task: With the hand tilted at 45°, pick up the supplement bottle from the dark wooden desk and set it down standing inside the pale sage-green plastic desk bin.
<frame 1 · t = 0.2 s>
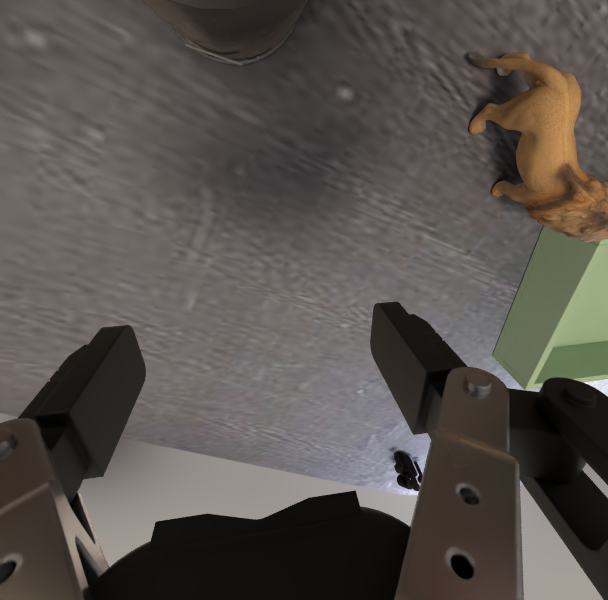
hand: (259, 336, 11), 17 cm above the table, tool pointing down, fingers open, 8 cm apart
desk bin: (588, 287, 35), on the table
lion figurine: (506, 143, 26), on the table
wireless earbuds: (398, 455, 48), on the table
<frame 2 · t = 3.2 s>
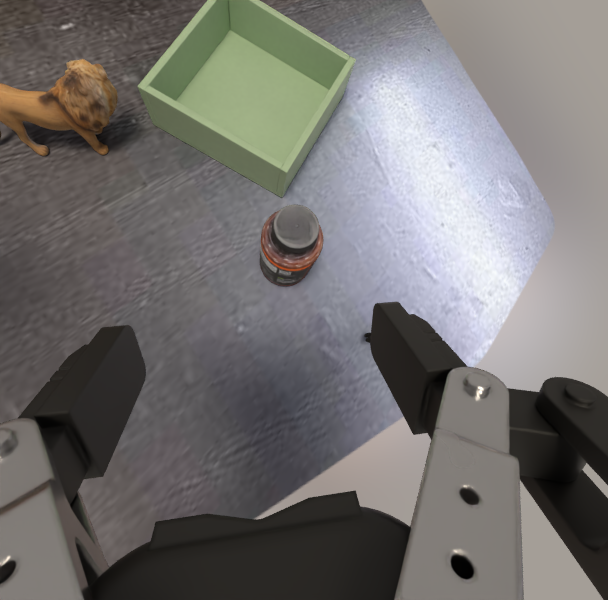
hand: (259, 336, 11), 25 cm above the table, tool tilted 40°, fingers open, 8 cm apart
desk bin: (254, 109, 41), on the table
supplement bottle: (284, 263, 38), on the table
lion figurine: (74, 137, 36), on the table
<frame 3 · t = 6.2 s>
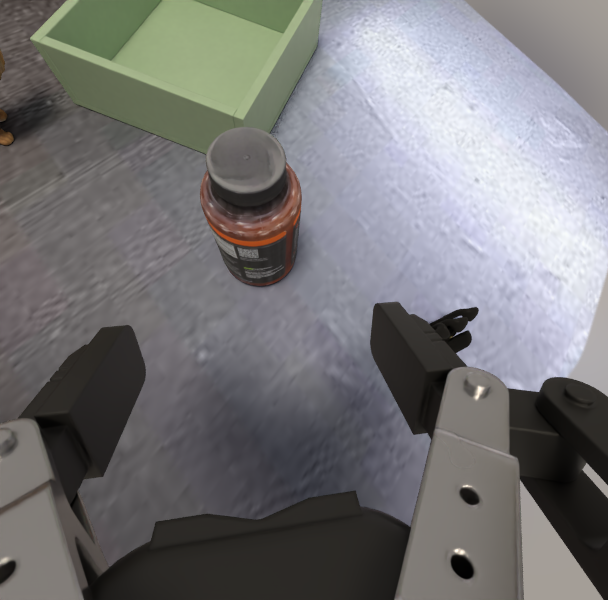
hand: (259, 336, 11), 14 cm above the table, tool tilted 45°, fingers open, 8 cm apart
desk bin: (204, 73, 32), on the table
supplement bottle: (260, 255, 27), on the table
wireless earbuds: (422, 344, 25), on the table
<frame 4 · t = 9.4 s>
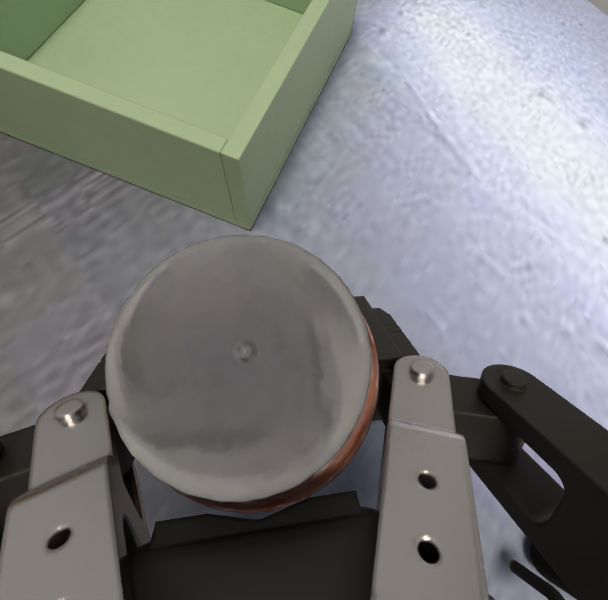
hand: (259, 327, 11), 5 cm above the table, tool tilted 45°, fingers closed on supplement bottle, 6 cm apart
desk bin: (182, 72, 21), on the table
supplement bottle: (268, 383, 16), on the table, touching gripper
wireless earbuds: (553, 550, 14), on the table
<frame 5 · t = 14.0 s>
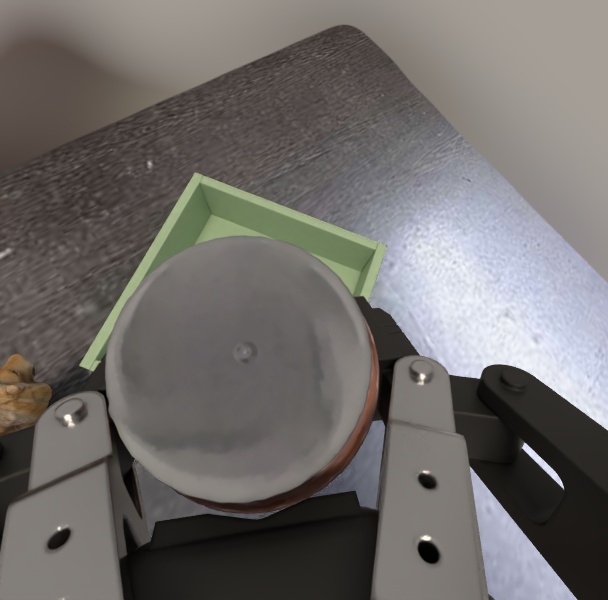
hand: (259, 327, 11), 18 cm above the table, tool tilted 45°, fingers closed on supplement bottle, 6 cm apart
desk bin: (253, 317, 30), on the table
supplement bottle: (268, 383, 16), point 13 cm above the table, touching gripper
lion figurine: (9, 415, 26), on the table
when the fingers open (6 cm above the table, at t = 18.8 s): supplement bottle stays where it is, resting on desk bin.
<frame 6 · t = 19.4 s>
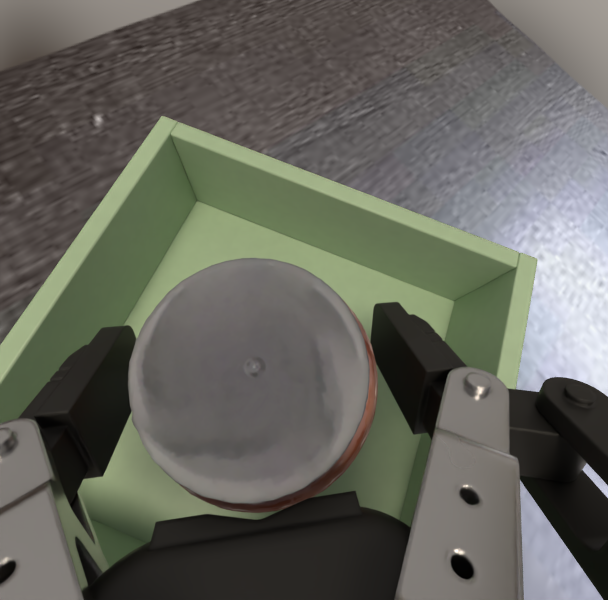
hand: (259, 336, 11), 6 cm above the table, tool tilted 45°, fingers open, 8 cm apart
desk bin: (268, 383, 16), on the table
supplement bottle: (271, 386, 16), resting on desk bin
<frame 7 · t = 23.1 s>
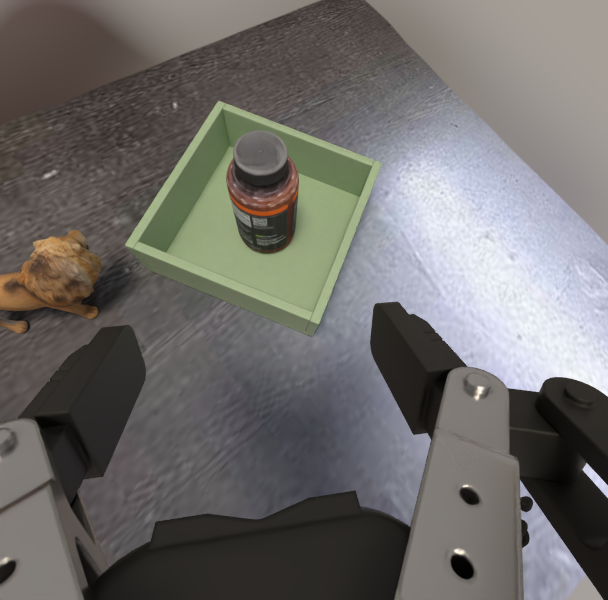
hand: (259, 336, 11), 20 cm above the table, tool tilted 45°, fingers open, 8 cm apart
desk bin: (265, 231, 34), on the table
supplement bottle: (267, 230, 34), resting on desk bin
lion figurine: (58, 302, 30), on the table
wireless earbuds: (476, 515, 28), on the table
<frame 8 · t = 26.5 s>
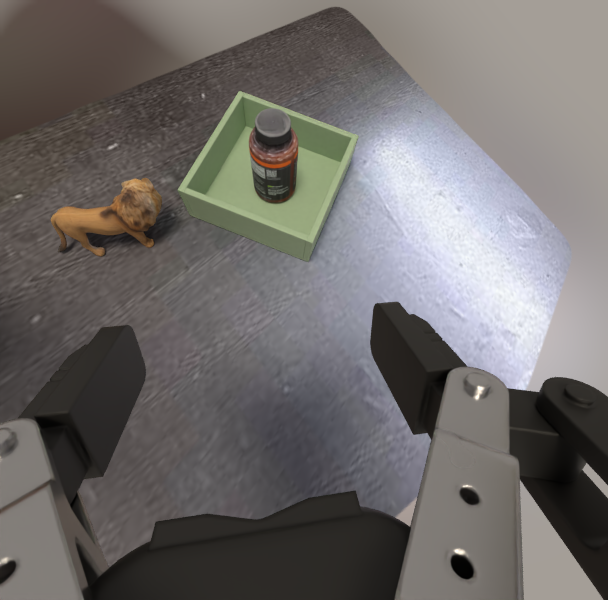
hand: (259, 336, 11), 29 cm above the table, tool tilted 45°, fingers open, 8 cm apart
desk bin: (273, 188, 46), on the table
supplement bottle: (274, 187, 45), resting on desk bin
lion figurine: (125, 236, 42), on the table
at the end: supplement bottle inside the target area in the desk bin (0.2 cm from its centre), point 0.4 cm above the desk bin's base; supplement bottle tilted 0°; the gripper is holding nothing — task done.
